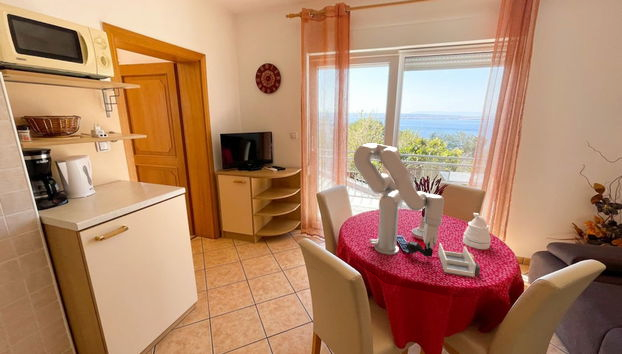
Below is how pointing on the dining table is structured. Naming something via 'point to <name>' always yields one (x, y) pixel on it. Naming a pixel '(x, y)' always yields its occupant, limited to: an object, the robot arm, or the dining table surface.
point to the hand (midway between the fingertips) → (427, 254)
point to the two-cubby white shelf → (457, 262)
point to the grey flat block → (477, 269)
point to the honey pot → (477, 233)
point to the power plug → (415, 248)
